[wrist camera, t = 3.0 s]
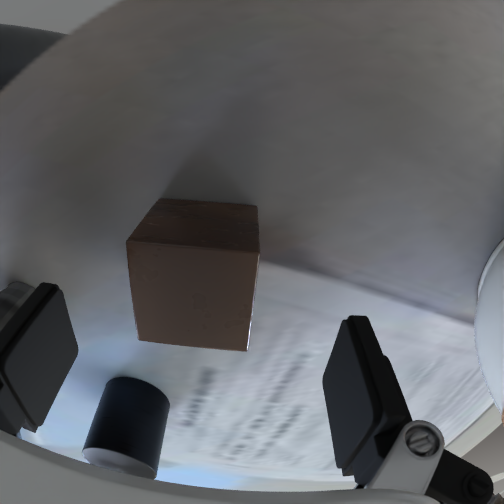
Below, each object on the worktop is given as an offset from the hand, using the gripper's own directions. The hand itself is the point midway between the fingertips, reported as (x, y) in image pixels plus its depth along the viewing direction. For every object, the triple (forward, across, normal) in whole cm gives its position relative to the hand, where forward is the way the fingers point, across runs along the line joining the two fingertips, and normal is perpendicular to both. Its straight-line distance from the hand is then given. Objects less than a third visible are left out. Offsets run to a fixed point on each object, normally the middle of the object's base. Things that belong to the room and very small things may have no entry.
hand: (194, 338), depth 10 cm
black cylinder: (+6, +6, +13) cm, 15 cm away
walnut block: (+6, 0, 0) cm, 6 cm away
